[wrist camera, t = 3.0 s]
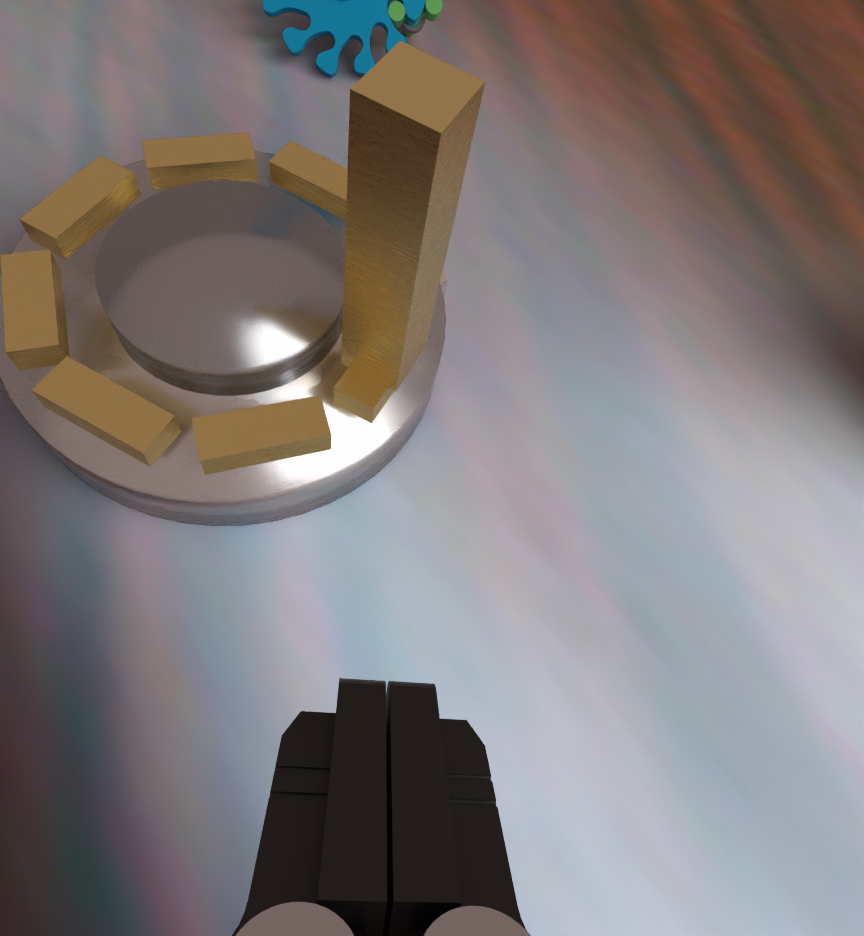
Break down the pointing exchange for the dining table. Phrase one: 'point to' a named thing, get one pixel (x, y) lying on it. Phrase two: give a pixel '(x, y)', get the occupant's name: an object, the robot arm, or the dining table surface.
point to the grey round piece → (218, 346)
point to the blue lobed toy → (352, 25)
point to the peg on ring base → (313, 179)
